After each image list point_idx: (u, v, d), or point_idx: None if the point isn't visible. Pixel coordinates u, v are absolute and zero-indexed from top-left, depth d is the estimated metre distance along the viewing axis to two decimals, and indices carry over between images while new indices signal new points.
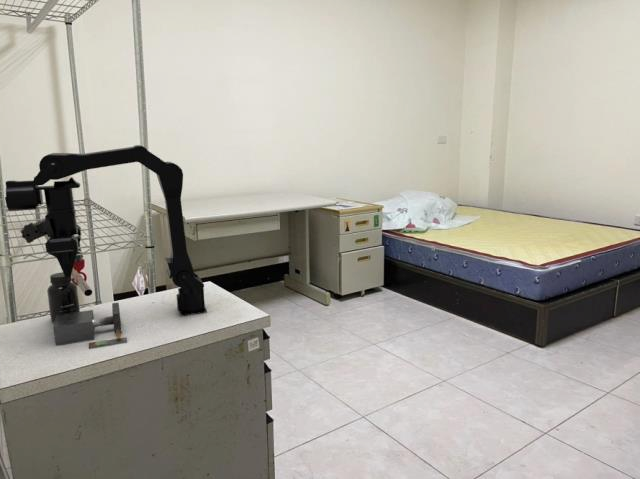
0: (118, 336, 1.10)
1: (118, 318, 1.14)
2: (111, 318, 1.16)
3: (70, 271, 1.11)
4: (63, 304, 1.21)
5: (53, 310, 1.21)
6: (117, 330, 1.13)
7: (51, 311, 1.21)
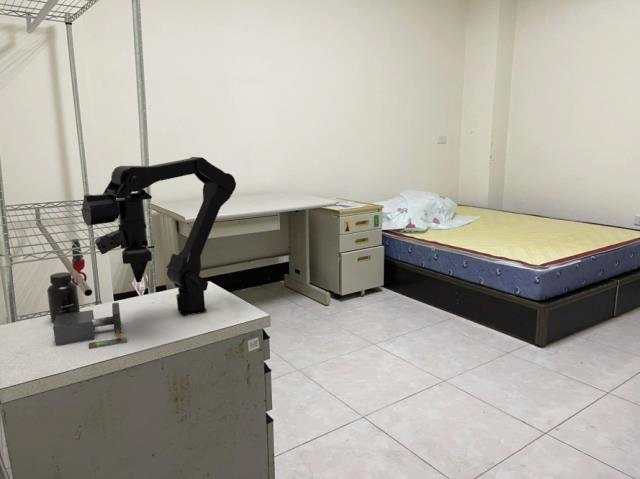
0: (118, 336, 1.10)
1: (118, 318, 1.14)
2: (111, 318, 1.16)
3: (141, 276, 1.17)
4: (63, 304, 1.21)
5: (53, 310, 1.21)
6: (117, 330, 1.13)
7: (51, 311, 1.21)
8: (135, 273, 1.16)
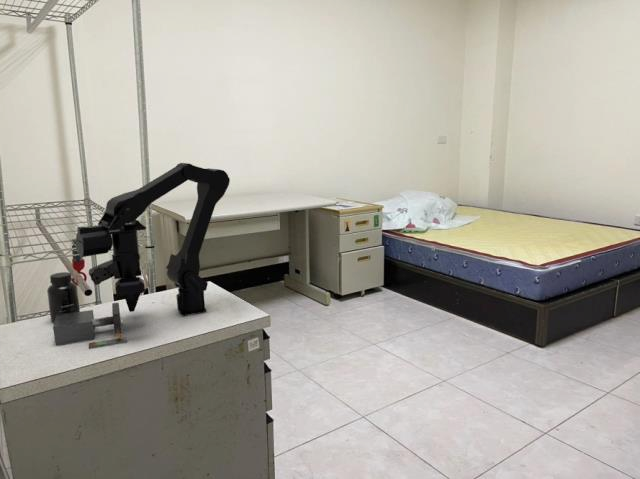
0: (118, 336, 1.10)
1: (118, 318, 1.14)
2: (111, 318, 1.16)
3: (134, 306, 1.18)
4: (63, 304, 1.21)
5: (53, 310, 1.21)
6: (117, 330, 1.13)
7: (51, 311, 1.21)
8: (128, 303, 1.16)
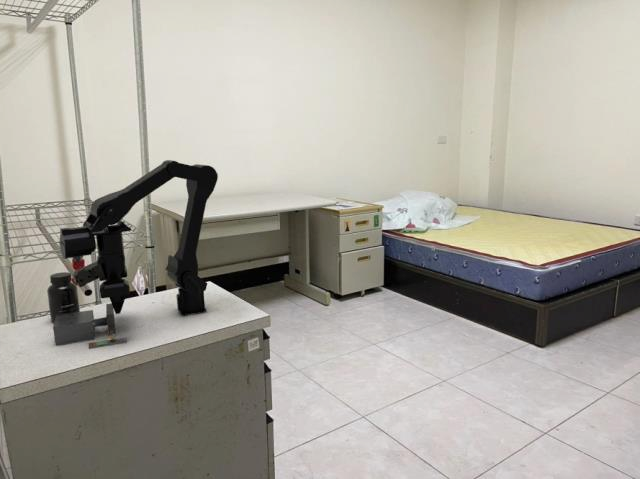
0: (112, 337, 1.09)
1: (112, 319, 1.13)
2: (105, 319, 1.16)
3: (120, 308, 1.16)
4: (63, 304, 1.21)
5: (53, 310, 1.21)
6: (111, 331, 1.13)
7: (51, 311, 1.21)
8: (114, 305, 1.15)
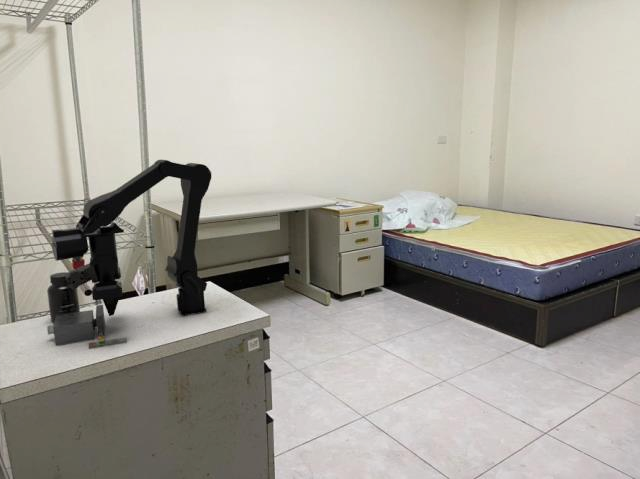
0: (101, 339, 1.08)
1: (101, 320, 1.12)
2: (95, 320, 1.15)
3: (114, 310, 1.16)
4: (63, 304, 1.21)
5: (53, 310, 1.21)
6: (100, 333, 1.12)
7: (51, 311, 1.21)
8: (107, 307, 1.15)
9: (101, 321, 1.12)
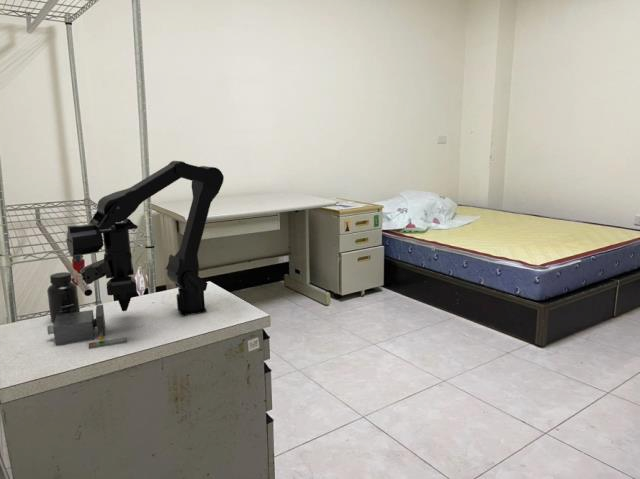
0: (101, 339, 1.08)
1: (101, 320, 1.12)
2: (95, 320, 1.15)
3: (127, 305, 1.17)
4: (63, 304, 1.21)
5: (53, 310, 1.21)
6: (100, 333, 1.12)
7: (51, 311, 1.21)
8: (121, 302, 1.16)
9: (101, 321, 1.12)
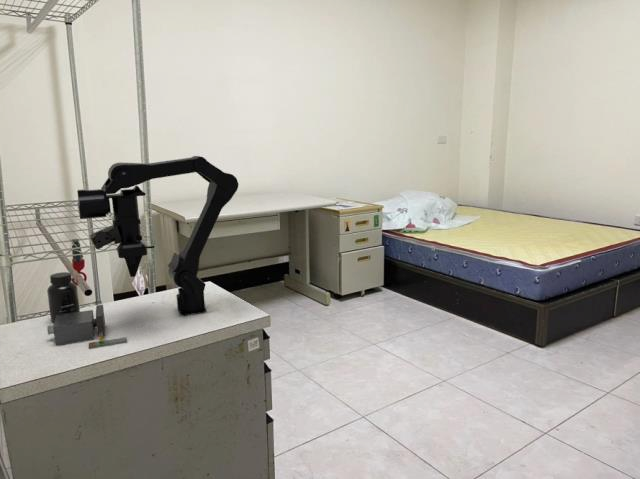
0: (101, 339, 1.08)
1: (101, 320, 1.12)
2: (95, 320, 1.15)
3: (135, 271, 1.19)
4: (63, 304, 1.21)
5: (53, 310, 1.21)
6: (100, 333, 1.12)
7: (51, 311, 1.21)
8: (129, 268, 1.18)
9: (101, 321, 1.12)
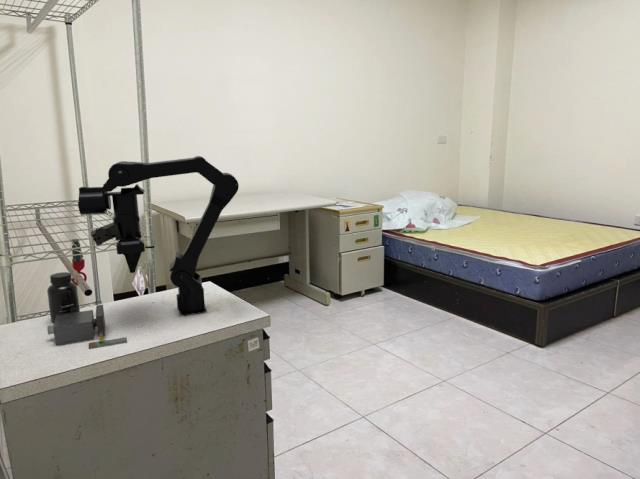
0: (101, 339, 1.08)
1: (101, 320, 1.12)
2: (95, 320, 1.15)
3: (135, 267, 1.23)
4: (63, 304, 1.21)
5: (53, 310, 1.21)
6: (100, 333, 1.12)
7: (51, 311, 1.21)
8: (129, 264, 1.21)
9: (101, 321, 1.12)
